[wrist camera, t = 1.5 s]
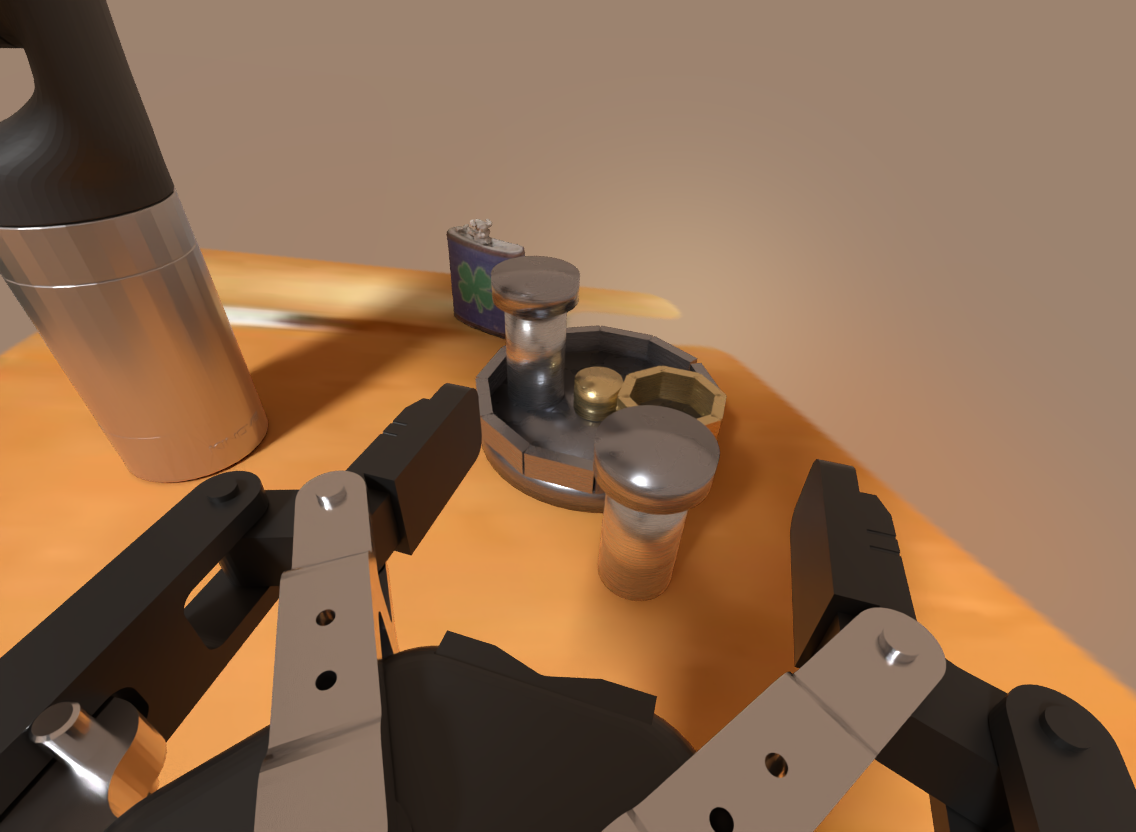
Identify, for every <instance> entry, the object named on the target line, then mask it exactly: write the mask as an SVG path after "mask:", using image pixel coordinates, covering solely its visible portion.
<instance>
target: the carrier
mask: <svg viewBox="0 0 1136 832" xmlns="http://www.w3.org/2000/svg"><path fill="white" fill-rule="evenodd" d="M579 280H580V273H579V270H578V269H577V268H576V267H575V266H574V265H572V264H570V263H568V262H566V261H564V260H560V259H557V258H552V257H544V256H524V257H517V258H512V259H508V260H505V261H503V262H501V263H499V264H497V265H496V266H495V267H494V268H493V269H492V271H491V284H492V300H493V303H494V304H495V306H496V307H497V308H499V309H500V310H502V311H504V312H505V333H506V345H505V346H503V348H500V350H499V351H498V352H497V353H496V354H495V355H494V357H493V358H492V359H491V360H490V361H489V362H488V364H487V365H486V366H485V367H484V368H483V369H482V371H481V372H480V373H479V374H478V375H477V376H476V389H477V392H478V397H479V409H480V420H481V432H482V447H483V450H484V452H485V455H486V457H487V459H488V461H489V462H490V464H491V465H492V467H493V468H494V469H495V470H496V471H497V472H498V474H499V475H500V476H501V477H502V478H503V479H505V480H506V481H507V482H508V483H510V484H511V485H512V486H513V487H515V488H516V489H518V490H520V491H521V492H523V493H525V494H526V495H528V496H531V497H533V498H535V499H537V500H539V501H542V502H545V503H548V504H551V505H554V506H557V507H561V508H565V509H570V510H574V511H583V512H591V513H604V503H605V494H606V493H605V492H604V491H603V490H602V489H601V488H600V486H599V485H598V483H597V481H596V479H595V477H594V473H593V456H594V444H595V435H596V431H597V428H598V427H599V425H600V424H601V422H602V421H603V420H604V419H605V418H606V417H608V416H609V415H611V414H612V413H614V412H616V411H618V410H621V409H624V408H628V407H633V406H642V405H653V406H662V407H668V408H672V409H675V410H678V411H681V412H684V413H686V414H688V415H690V416H692V417H694V418H696V419H697V420H699V421H700V422H701V423H703V424H704V425H705V426H706V427H707V428H708V429H709V430H710V431H711V432H712V434H713V435H714V436H715V438H716V440H717V438H718V434H719V430H720V427H721V423H722V419H723V414H724V408H725V402H726V397H727V396H726V394H725V393H724V392H723V391H721V390H720V388H719V387H718V386H717V384H716V383H715V381H714V380H713V379H712V377H711V376H710V375H709V373H708V372H707V370H706V369H705V368H704V366H703V365H702V363H697V358H695V357H693V356H692V355H690V354H688V353H686V352H684V351H682V350H680V349H678V348H676V347H674V346H673V345H671V344H669V343H667V342H665V341H663V340H661V339H659V338H657V337H655V336H654V337H653V336H652V335H648V334H642V333H637V332H632V331H626V330H621V329H616V328H611V327H605V326H601V327H600V326H586V327H572V328H566V316H567V312H568V311H570V310H572V309H573V308H574V307H575V306H576V305H577V303H578V300H579Z"/></svg>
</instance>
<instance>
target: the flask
mask: <svg viewBox="0 0 1136 832" xmlns="http://www.w3.org/2000/svg"><path fill="white" fill-rule="evenodd" d="M486 221H487V222H484V221H482V220H480V219H477V220H475V222H474V220H471V221H470V224H471V226H472V227H474V226H475V227H476V229H474V230H473V229H472V228H470V227H469V225H464V226H463V227H453V228H450V229H449V230H448V231H447V240H448V248H449V260H450V270H451V283H452V295H453V306H454V316H455V317H456V318H457V319H458V320H460V321H462V322H463V323H464V324H467V325H468V326H470V327H473V328H475V329H480V330H481V331H483V332H486V333H489V334H492V335H494V336H495V335H496V336H498V337H500V338H504V339H506V333H505V312H504V311H502V310H500V309H499V308H497V307H496V306H495V304H494V303H493V300H492V284H491V271H492V269H493V268H494V267H495V266H496V265H497V264H499V263H501V262H503V261H505V260H508V259H512V258H517V257H524V256H525V252H524V247H522V246H520V245H518V244H512V243H509V242H504V241H501V240H497V239H494V238H490V237H489V234H490V230H489V229H488V228H489V227H491V226H492V222H491V221H490V220H489V219H486Z"/></svg>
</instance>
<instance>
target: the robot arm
mask: <svg viewBox="0 0 1136 832" xmlns="http://www.w3.org/2000/svg"><path fill="white" fill-rule="evenodd" d="M0 48H24V50H25V53H26V55H27V58H28V61H29V64H30V67H31V71H32V74H33V77H34V83H35V90H34V93H33V95H32V97H31V98H30V99H29V101H28V102H27V103H26V104H25V105H24V106H23V107H22V108H21V109H20V110H18V111H17V112H16V113H14V114H13V115H12V116H10V117H9V118H7V119H5V120H3V121H2V122H0V274H1V275H2V277H3V279H4V280H5V282H6V283H7V285H8V286H9V288H10V289H11V291H12V293H13V294H14V296H15V297H16V299H17V300H18V302H19V303H20V305H21V306H22V307H23V309H24V311H25V312H26V314H27V315H28V317H29V318H30V320H31V322H32V323H33V325H34V326H35V328H36V329H37V331H38V332H39V334H40V335H41V337H42V338H43V340H44V341H45V343H46V345H47V346H48V348H49V349H50V351H51V352H52V354H53V355H54V357H55V358H56V360H57V361H58V363H59V364H60V366H61V367H62V369H63V370H64V372H65V374H66V375H67V377H68V378H69V380H70V381H71V383H72V384H73V386H74V387H75V389H76V390H77V392H78V393H79V395H80V396H81V398H82V399H83V401H84V403H85V404H86V406H87V407H88V409H89V410H90V412H91V413H92V415H93V416H94V418H95V419H96V421H97V422H98V424H99V426H100V427H101V429H102V430H103V432H104V433H105V435H106V436H107V438H108V439H109V441H110V442H111V444H112V445H113V447H114V448H115V450H116V451H117V453H118V454H119V456H120V457H121V459H122V460H123V462H124V463H125V465H126V467H127V468H128V470H129V471H130V472H131V473H132V474H134V475H135V476H137V477H138V478H141V479H144V480H147V481H153V482H180V481H186V480H192V479H196V478H200V477H203V476H207V475H210V474H212V473H215V472H217V471H220V470H222V469H225V468H227V467H229V466H230V465H232V464H234V463H236V462H238V461H239V460H241V459H242V458H244V457H245V456H246V455H248V454H249V453H251V452H252V451H253V450H254V449H255V448H256V447H257V446H258V445H259V444H260V442H261V441H262V439H263V438H264V437H265V435H266V432H267V429H268V419H267V417H266V414H265V412H264V409H263V406H262V404H261V401H260V399H259V396H258V394H257V391H256V389H255V386H254V384H253V381H252V378H251V375H250V373H249V370H248V368H247V365H246V363H245V360H244V358H243V355H242V353H241V350H240V348H239V345H238V343H237V340H236V338H235V335H234V333H233V330H232V328H231V325H230V323H229V320H228V318H227V315H226V313H225V310H224V308H223V305H222V303H221V300H220V298H219V295H218V293H217V290H216V288H215V285H214V283H213V280H212V278H211V275H210V273H209V270H208V268H207V265H206V263H205V260H204V258H203V255H202V253H201V250H200V248H199V246H198V243H197V241H196V239H195V237H194V234H193V231H192V229H191V226H190V224H189V221H188V219H187V216H186V214H185V211H184V209H183V206H182V204H181V201H180V199H179V197H178V194H177V191H176V189H175V188H174V184H173V182H172V179H171V177H170V174H169V172H168V169H167V167H166V164H165V162H164V159H163V157H162V154H161V151H160V148H159V146H158V143H157V140H156V137H155V134H154V131H153V128H152V126H151V123H150V121H149V118H148V115H147V113H146V110H145V108H144V105H143V103H142V100H141V97H140V94H139V92H138V89H137V87H136V84H135V82H134V79H133V76H132V74H131V71H130V68H129V66H128V63H127V60H126V57H125V54H124V51H123V49H122V46H121V43H120V40H119V37H118V35H117V32H116V29H115V26H114V23H113V20H112V17H111V14H110V11H109V8H108V5H107V3H106V0H0ZM481 443H482V432H481V420H480V409H479V397H478V392H477V390H476V389H474V388H469V387H465V386H460V385H455V384H450V383H446V384H444V385H443V386H442V387H441V388H440V389H439V390H438V391H437V392H436V393H435V394H434V396H433V397H432V398H431V399H430V400H429V399H425V398H423V399H421V400H419V401H417V402H415V403H414V404H412V405H410V406H408V407H406V408H405V409H404V410H403V411H402V412H401V413H400V414H399V415H398V416H397V417H396V418H395V419H394V420H393V423H390V425H389V426H388V427H387V428H386V429H385V430H384V431H383V434H380V435H379V436H378V437H377V438H376V439H375V440H374V441H373V442H372V443H371V444H370V445H369V447H368V448H367V449H366V450H365V451H364V452H363V453H362V454H361V455H360V456H359V457H358V458H357V459H356V460H355V461H354V462H353V463H352V464H351V465H350V466H349V468H348V469H347V470H346V471H333V472H328V473H324V474H322V475H319V476H317V477H315V478H313V479H311V480H310V481H308V482H307V483H306V484H305V485H304V486H303V487H302V488H301V489H300V490H264V488H263V486H262V483H261V481H260V479H259V478H258V477H257V476H256V475H255V474H253V473H250V472H246V471H232V472H226V473H222V474H219V475H216V476H214V477H211V478H209V479H208V480H206V481H204V482H202V483H201V484H200V485H198V486H197V487H196V488H195V489H193V490H192V491H191V492H190V493H189V494H188V495H187V496H185V497H184V498H183V499H182V500H181V501H180V502H179V503H177V504H176V505H175V506H174V507H173V508H172V509H170V510H169V511H168V512H167V513H166V514H165V515H164V516H162V517H161V518H160V519H159V520H158V521H157V522H156V523H154V524H153V525H152V526H151V527H150V528H149V529H148V530H146V531H145V532H144V533H143V534H142V535H141V536H140V537H138V538H137V539H136V540H135V541H134V542H133V543H132V544H130V545H129V546H128V547H127V548H126V549H125V550H124V551H122V552H121V553H120V554H119V555H118V556H117V557H116V558H114V559H113V560H112V561H111V562H110V563H109V564H108V565H106V566H105V567H104V568H103V569H102V570H101V571H100V572H98V573H97V574H96V575H95V576H94V577H93V578H92V579H90V580H89V581H88V582H87V583H86V584H85V585H84V586H82V587H81V588H80V589H79V590H78V591H77V592H76V593H74V594H73V595H72V596H71V597H70V598H69V599H68V600H66V601H65V602H64V603H63V604H62V605H61V606H60V607H58V608H57V609H56V610H55V611H54V612H53V613H52V614H50V615H49V616H48V617H47V618H46V619H45V620H44V621H42V622H41V623H40V624H39V625H38V626H37V627H36V628H34V629H33V630H32V631H31V632H30V633H29V634H28V635H26V636H25V637H24V638H23V639H22V640H21V641H20V642H18V643H17V644H16V645H15V646H14V647H13V648H12V649H10V650H9V651H8V652H7V653H6V654H5V655H4V656H2V657H1V658H0V832H813V831H814V830H815V829H816V828H817V827H818V825H819V824H820V823H821V822H822V821H823V820H824V818H825V817H826V816H827V815H828V814H829V812H830V811H831V810H832V809H833V808H834V806H835V805H836V804H837V803H838V802H839V801H840V799H841V798H842V797H843V796H844V795H845V793H846V792H847V791H848V790H849V789H850V787H851V786H852V785H853V784H854V783H855V782H856V780H857V779H858V778H859V777H860V776H861V774H862V773H863V772H864V771H865V770H866V768H867V767H868V766H869V765H870V764H871V763H872V761H873V760H874V759H875V760H877V761H878V762H880V763H881V764H883V765H884V766H886V767H888V768H889V769H891V770H892V771H894V772H895V773H897V774H899V775H900V776H902V777H903V778H905V779H906V780H908V781H910V782H911V783H913V784H914V785H916V786H917V787H919V788H921V789H922V790H924V791H925V792H927V793H928V794H929V797H930V804H931V811H932V818H933V825H934V832H1136V789H1135V787H1134V784H1133V782H1132V779H1131V777H1130V775H1129V772H1128V770H1127V767H1126V765H1125V762H1124V760H1123V758H1122V755H1121V753H1120V750H1119V748H1118V747H1117V745H1116V743H1115V741H1114V739H1113V738H1112V736H1111V735H1110V733H1109V732H1108V731H1107V730H1106V728H1105V727H1104V726H1103V725H1102V724H1101V723H1100V722H1099V721H1098V720H1097V719H1096V718H1095V717H1094V716H1093V715H1092V714H1091V713H1090V712H1089V711H1088V710H1086V709H1085V708H1084V707H1082V706H1081V705H1080V704H1078V703H1077V702H1076V701H1074V700H1072V699H1071V698H1069V697H1067V696H1066V695H1064V694H1061V693H1059V692H1057V691H1055V690H1052V689H1050V688H1047V687H1043V686H1039V685H1031V684H1029V685H1021V686H1017V687H1015V688H1014V689H1012V690H1011V691H1010V692H1009V693H1008V694H1007V693H1006V692H1004V691H1002V690H1000V689H998V688H996V687H994V686H992V685H990V684H988V683H987V682H985V681H983V680H981V679H979V678H977V677H975V676H973V675H971V674H969V673H968V672H966V671H964V670H962V669H960V668H959V667H957V666H955V665H954V664H953V663H951V662H950V661H948V660H947V659H946V658H945V655H944V653H943V650H942V648H941V646H940V645H939V643H938V641H937V640H936V639H935V638H934V636H933V635H932V634H931V633H930V632H929V631H928V630H927V629H926V628H925V627H924V626H922V625H921V624H920V623H919V622H917V620H916V616H915V612H914V608H913V604H912V600H911V595H910V591H909V587H908V583H907V579H906V575H905V571H904V566H903V562H902V558H901V556H899V554H900V550H899V546H898V541H897V540H896V539H895V537H896V533H895V529H894V525H893V521H892V517H891V514H890V513H889V512H888V510H887V509H886V508H885V506H884V505H883V504H882V502H881V501H880V500H879V499H878V497H877V496H876V495H872V494H867V493H862V492H860V491H859V486H858V481H857V475H856V470H855V468H854V467H853V466H848V465H843V464H838V463H833V462H829V461H824V460H819V459H816V460H815V461H814V463H813V465H812V467H811V469H810V472H809V474H808V477H807V479H806V482H805V484H804V487H803V489H802V492H801V494H800V497H799V499H798V502H797V504H796V507H795V510H794V513H793V517H792V522H791V530H790V544H791V574H792V603H793V632H794V661H795V667H797V668H800V669H799V670H798V671H796V672H795V673H794V674H792V673H791V672H787V673H785V674H783V675H782V676H781V677H779V678H778V679H777V680H776V681H775V682H774V683H773V684H771V685H770V686H769V687H768V688H767V689H766V690H765V691H764V692H763V693H761V694H760V695H759V696H758V697H757V698H756V699H755V700H754V701H753V702H752V703H750V704H749V705H748V706H747V707H746V708H745V709H744V710H743V711H742V712H741V713H739V714H738V715H737V716H736V717H735V718H734V719H733V720H732V721H731V722H729V723H728V724H727V725H726V726H725V727H724V728H723V729H722V730H721V731H720V732H718V733H717V734H716V735H715V736H714V737H713V738H712V739H711V740H710V741H709V742H707V743H706V744H705V745H704V746H703V747H702V748H701V749H700V750H699V751H698V752H696V751H695V750H694V748H693V747H692V746H691V745H690V743H689V742H688V741H687V740H686V739H685V738H684V737H683V736H682V735H681V734H680V733H679V732H678V731H677V730H676V729H675V728H674V727H672V726H671V725H670V724H669V723H667V722H666V721H665V720H664V719H662V718H660V717H659V716H657V715H656V714H654V710H655V704H656V698H657V696H654V695H651V694H647V693H644V692H641V691H638V690H635V689H632V688H628V687H625V686H622V685H619V684H616V683H612V682H609V681H606V680H603V679H589V678H570V677H550V676H543V675H540V674H539V673H537V672H535V671H534V670H532V669H531V668H529V667H527V666H526V665H524V664H523V663H521V662H520V661H518V660H517V659H515V658H514V657H512V656H511V655H509V654H507V653H506V652H504V651H503V650H501V649H500V648H498V647H497V646H495V645H492V644H489V643H485V642H482V641H479V640H476V639H473V638H470V637H466V636H463V635H460V634H457V633H454V632H450V631H447V632H446V634H445V636H444V638H443V639H442V641H441V643H440V645H439V646H425V647H417V648H412V649H408V650H404V651H401V652H400V651H399V646H398V641H397V636H396V629H395V620H394V612H393V604H392V596H391V587H390V579H389V571H388V565H387V560H388V558H389V557H390V556H391V554H392V553H393V551H398V552H401V553H405V554H408V555H412V554H413V552H414V551H415V549H416V548H417V546H418V545H419V543H420V542H421V540H422V539H423V537H424V536H425V535H426V533H427V532H428V530H429V529H430V527H431V526H432V524H433V523H434V521H435V520H436V518H437V517H438V515H439V514H440V512H441V511H442V509H443V508H444V507H445V505H446V504H447V502H448V501H449V499H450V498H451V496H452V495H453V493H454V492H455V490H456V489H457V487H458V486H459V484H460V483H461V481H462V480H463V479H464V477H465V476H466V474H467V473H468V471H469V470H470V468H471V467H472V465H473V464H474V462H475V461H476V459H477V457H478V455H479V452H480V448H481ZM218 562H219V564H220V566H221V568H222V569H221V570H220V571H219V572H218V573H217V574H216V575H215V576H214V577H213V578H212V579H211V580H210V581H209V583H208V584H207V585H206V586H205V587H204V588H203V589H202V590H201V591H200V592H199V593H198V594H197V595H196V597H195V598H194V599H193V600H192V601H191V602H190V603H189V604H188V605H187V606H186V607H185V608H184V605H185V602H186V599H187V597H188V596H189V594H190V593H191V591H192V590H193V589H194V588H195V587H196V586H197V585H198V584H199V582H200V581H201V580H202V579H203V578H204V577H205V576H206V575H207V574H208V573H209V572H210V571H211V570H212V569H213V568H214V567H215V566H216V564H217V563H218ZM278 599H279V607H278V621H277V635H276V649H275V664H274V678H273V692H272V706H271V721H270V725H268V726H266V727H265V728H263V729H261V730H259V731H258V732H256V733H254V734H253V735H251V736H249V737H247V738H246V739H244V740H242V741H241V742H239V743H237V744H235V745H234V746H232V747H230V748H229V749H227V750H225V751H223V752H222V753H220V754H218V755H217V756H215V757H213V758H211V759H210V760H208V761H206V762H205V763H203V764H201V765H199V766H198V767H196V768H194V769H193V770H191V771H189V772H187V773H186V774H184V775H182V776H181V777H179V778H177V779H175V780H174V781H172V782H170V783H169V784H167V785H165V786H163V787H162V788H160V789H158V786H159V780H158V776H159V774H160V772H161V770H162V768H163V765H164V762H165V759H166V753H167V748H166V742H167V741H168V739H169V738H170V737H171V736H172V734H173V733H174V732H175V731H176V729H177V728H178V727H179V725H180V724H181V723H182V722H183V720H184V719H185V718H186V716H187V715H188V714H189V713H190V711H191V710H192V709H193V707H194V706H195V705H196V704H197V702H198V701H199V700H200V698H201V697H202V696H203V695H204V693H205V692H206V691H207V690H208V688H209V687H210V686H211V684H212V683H213V682H214V681H215V679H216V678H217V677H218V675H219V674H220V673H221V672H222V670H223V669H224V668H225V666H226V665H227V664H228V663H229V661H230V660H231V659H232V657H233V656H234V655H235V654H236V652H237V651H238V650H239V649H240V647H241V646H242V645H243V643H244V642H245V641H246V640H247V638H248V637H249V636H250V634H251V633H252V632H253V631H254V629H255V628H256V627H257V625H258V624H259V623H260V622H261V620H262V619H263V618H264V616H265V615H266V614H267V613H268V611H269V610H270V609H271V608H272V606H273V605H274V604H275V602H276V601H277V600H278ZM157 789H158V790H157Z"/></svg>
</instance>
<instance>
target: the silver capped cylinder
mask: <svg viewBox="0 0 1136 832" xmlns="http://www.w3.org/2000/svg"><path fill="white" fill-rule="evenodd" d="M719 456H720V450H719V445H718V442H717V440H716V438H715V436H714V435H713V434H712V432H711V431H710V430H709V429H708V428H707V427H706V426H705V425H704V424H703V423H701V422H700V421H699V420H697V419H696V418H694V417H692V416H690V415H688V414H686V413H684V412H681V411H678V410H675V409H672V408H668V407H662V406H653V405H642V406H633V407H628V408H624V409H621V410H618V411H616V412H614V413H612V414H611V415H609V416H608V417H606V418H605V419H604V420H603V421H602V422H601V424H600V425H599V427H598V428H597V431H596V435H595V444H594V456H593V473H594V477H595V479H596V481H597V483H598V485H599V486H600V488H601V489H602V490H603V491H604V492H605V493H606V494H605V503H604V513H603V522H602V531H601V541H600V550H599V559H598V572H599V575H600V578H601V580H602V582H603V583H604V584H605V586H606V587H607V588H608V589H609V590H610V591H612V592H613V593H614V594H616V595H618V596H620V597H622V598H625V599H628V600H634V601H644V600H649V599H652V598H655V597H657V596H659V595H660V594H661V593H663V592H664V591H665V590H666V588H667V587H668V585H669V583H670V580H671V576H672V572H673V568H674V564H675V560H676V556H677V552H678V548H679V544H680V540H681V536H682V532H683V528H684V524H685V520H686V516H687V512H688V510H689V509H691V508H693V507H695V506H697V505H698V504H700V503H701V502H702V501H703V500H704V499H705V498H706V496H707V495H708V493H709V491H710V489H711V486H712V482H713V478H714V475H715V471H716V468H717V464H718V461H719Z"/></svg>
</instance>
